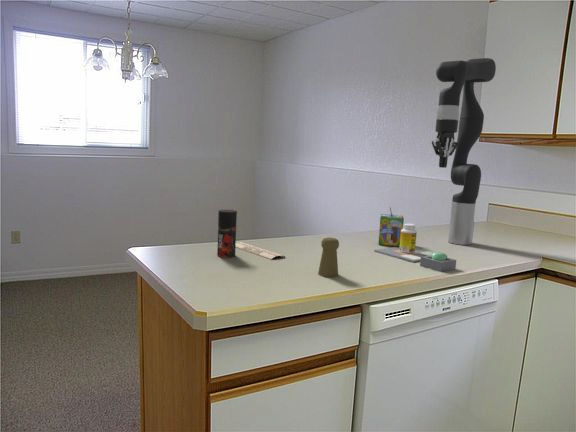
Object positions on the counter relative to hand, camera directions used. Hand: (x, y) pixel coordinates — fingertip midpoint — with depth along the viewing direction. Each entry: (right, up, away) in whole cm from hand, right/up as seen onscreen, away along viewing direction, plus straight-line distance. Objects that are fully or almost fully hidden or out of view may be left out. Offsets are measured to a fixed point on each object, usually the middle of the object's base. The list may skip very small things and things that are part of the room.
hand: (442, 167), depth 172 cm
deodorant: (-77, -31, -15) cm, 84 cm away
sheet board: (-11, -32, +1) cm, 34 cm away
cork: (-44, -35, -31) cm, 65 cm away
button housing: (-7, -35, -16) cm, 39 cm away
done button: (-7, -34, -16) cm, 38 cm away
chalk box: (-15, -29, +18) cm, 38 cm away
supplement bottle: (-13, -31, +2) cm, 34 cm away
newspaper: (-67, -31, -7) cm, 75 cm away
